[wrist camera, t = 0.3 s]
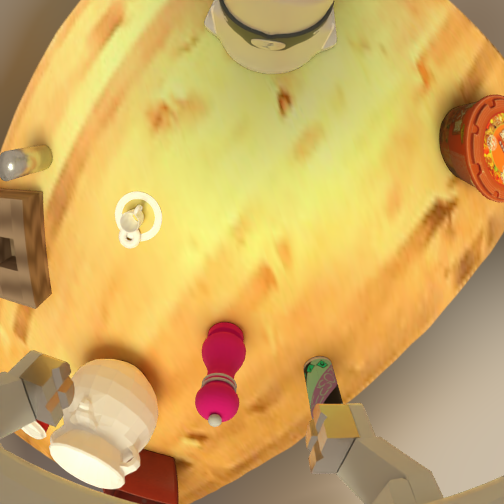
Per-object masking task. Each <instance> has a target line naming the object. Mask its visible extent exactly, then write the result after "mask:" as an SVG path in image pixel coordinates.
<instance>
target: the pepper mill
mask: <svg viewBox="0 0 504 504" xmlns="http://www.w3.org/2000/svg"><path fill="white" fill-rule="evenodd" d="M243 340H244V336H243V333H242V331H241V329H240V328H239V327H238V326H236V325H234V324H232V323H227V322H222V323H217V324H215V325H214V326H212V327H211V329H210V330H209V332H208V337H207V339H206V340H205V341H204V343H203V346H202V357H203V361H204V363H205V365H206V367H207V370H208V373H207V376H206V377H205V378H204V379H203V381H202V386H201V389H200V390H199V391H198V392H197V395H196V398H195V405H196V408H197V411H198V412H199V414H200V415H201V416H202V417H203V418H205V419H206V420H208V422H209V424H210V425H211V426H213V427H217V426H219V425H220V424H221V422H225V421H228V420H230V419H231V418H232V417H234V415H235V414H236V413H237V410H238V407H239V398H238V395H237V394H236V388H237V384H236V382H235V380H234V375H235V373H236V372H237V371H238V370H239V368H240V367H241V366H242V364H243V362H244V359H245V355H246V349H245V345H244V343H243Z"/></svg>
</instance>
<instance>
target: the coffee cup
mask: <svg viewBox="0 0 504 504" xmlns="http://www.w3.org/2000/svg"><path fill="white" fill-rule="evenodd" d="M48 427H49V424H47V423H44V422H42V421H39V420H37V419H36V421H34V422H32V423H30V424H28V425H26V426H24V427H23V428H21V429H22V430H23V431H24V432H25V433H27V434H28V435H30V436H31V437H33V438H36V439H43V438H44V437H46V431H47V429H48Z"/></svg>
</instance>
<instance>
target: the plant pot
mask: <svg viewBox="0 0 504 504" xmlns="http://www.w3.org/2000/svg"><path fill="white" fill-rule="evenodd" d="M139 456H140V466H139V468H138V469H137V470H136V471H134V472H131V473H129V474H128V475H126V476H125V484H124V485H123V486H122V487H120V488H117V489H104V488H103V491H104V494H107V495H111V496H114V497H117V498H120V499H124V500H127V501H131V502H135V503H138V504H178V480H177V471H176V465H175V460H174V458H172V457H169V456H165V455H161V454H158V453H154V452H151V451H147V450H144V449H142V450H141V451H140V452H139ZM131 460H132V458H131V459H130V460H129V461H131ZM129 461H128V462H129ZM126 463H127V462H126Z"/></svg>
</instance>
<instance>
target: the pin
mask: <svg viewBox="0 0 504 504" xmlns="http://www.w3.org/2000/svg"><path fill="white" fill-rule="evenodd" d="M52 158H53V156H52V151H51V149H50V148H49V147H48V146H47V145H39V146H33V147H27V148H21V149H15V150H10V151H5V152H3V153H1V155H0V178H1V179H2V180H4V181H9V180H12V179H15V178H19V177H22V176H25V175H29V174H32V173H36V172H39V171H43V170H46V169H48V168H49V167H50V165H51V163H52Z"/></svg>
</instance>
